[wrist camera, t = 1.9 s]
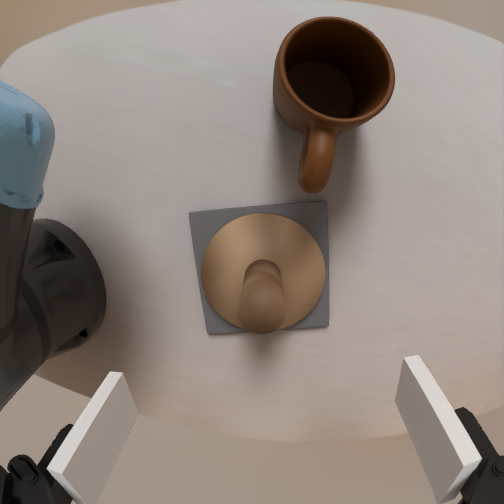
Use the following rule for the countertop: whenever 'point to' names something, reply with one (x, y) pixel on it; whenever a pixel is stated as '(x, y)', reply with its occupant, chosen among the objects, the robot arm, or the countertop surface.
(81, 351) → the countertop surface
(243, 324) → the lid
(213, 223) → the mat
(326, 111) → the mug
